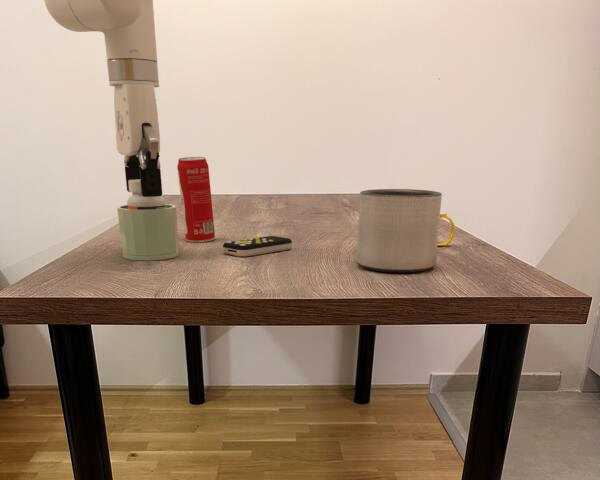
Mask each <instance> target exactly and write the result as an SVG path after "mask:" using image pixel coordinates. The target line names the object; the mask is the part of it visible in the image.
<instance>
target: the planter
mask: <svg viewBox="0 0 600 480" xmlns="http://www.w3.org/2000/svg"><path fill="white" fill-rule="evenodd" d="M442 196H443V194H442V192H440V191H435V190H429V189H427V190H426V189H412V188H379V189H378V188H377V189H366V190H362V191H360V192H359V208H358V226H357V227H358V229H357V243H356V244H357V245H356V263H357V264H358V265H359V266H360V267H362V268H363V269H366V270H370V271H375V272H381V273H393V274H394V273H395V274H406V273H409V274H410V273H419V272H425V271H429V270H430V269H431V268H434V266H435V265H436V263H437V258H438V257H437V256H438V247H439V246H438V243H439V233H440V232H439V230H440V220H441V218H440V212H441V208H442V207H441V206H442Z"/></svg>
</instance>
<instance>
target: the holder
mask: <svg viewBox="0 0 600 480" xmlns="http://www.w3.org/2000/svg"><path fill="white" fill-rule="evenodd" d="M116 210H117V219H118V228H119V236H120V237H119V238H120V246H121V252H122V253H121V254H122V258H124V259H127V260H132V261H142V262H143V261H144V262H145V261H149V262H151V261H163V260H170V259H174V258H177V257H179V255H180V244H179V242H180V241H179V232H178V230H179V229H178V218H177V217H178V216H177V206H176V205H174V204H169V203H165V208H164V209H145V210H140V209H128V207H127V204H124V205H123V204H122V205H119V206H117V207H116Z"/></svg>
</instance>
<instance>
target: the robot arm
mask: <svg viewBox="0 0 600 480" xmlns="http://www.w3.org/2000/svg"><path fill="white" fill-rule="evenodd" d="M44 5H45V8H46V9H47V11H48V14H49V16H51V18H52V19H53V20H54V21H55V22H56V23H57V24H58V25H59V26H61V27H63V28H64V29H66V30H68V31H72V32H77V33H89V32H92V33H93V32H99V33H103V35H104V44H105V45H104V46H105V54H106V63H107V64H106V65H107V73H108V81H109V82H108V83H109V86H110V87H114V89H113V103H114V104H113V107H114V108H113V109H114V124H115V126H114V127H115V138H116V139H115V141H116V151H117V152H118V154H120V155H122V156H124V159H123V163H124V174H125V183H126V185H125V186H126V191H127V192H128V193H130V192H129V183H128V181H129V180H137V179H140V181H141V192H142V196H144V197H157V196H161V197H162V196H163V184H162V171H161V161H160V157H161V156H160V152H161V136H160V135H161V133H160V124H159V113H158V105H157V98H156V91H155V88H160V79H159V78H160V77H159V65H158V52H157V51H158V50H157V40H156V39H157V38H156V25H155V11H154V0H44Z"/></svg>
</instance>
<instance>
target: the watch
mask: <svg viewBox="0 0 600 480" xmlns="http://www.w3.org/2000/svg"><path fill="white" fill-rule="evenodd" d="M442 218H443V219H447V220H448V222H449V224H451V233H450V236H449V238H448V239H447V240H446V241H445V242H438V246H437V247H447V246H448V245H449V244H450V243H451V242H452V241H453V239H454V237H455V235H456V225H455V222H454V221H453V220H452V218H451V217H450V216H448V213H447V212H443V211H440V219H442Z"/></svg>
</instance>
